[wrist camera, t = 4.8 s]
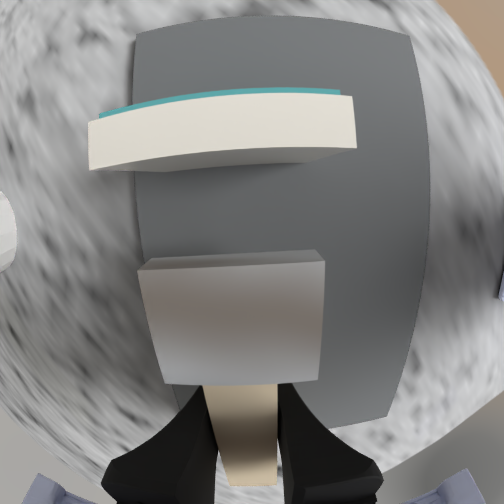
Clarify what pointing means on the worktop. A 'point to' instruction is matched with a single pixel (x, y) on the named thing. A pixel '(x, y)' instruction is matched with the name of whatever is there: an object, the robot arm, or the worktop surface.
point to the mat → (307, 188)
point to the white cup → (7, 233)
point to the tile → (223, 130)
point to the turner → (238, 341)
